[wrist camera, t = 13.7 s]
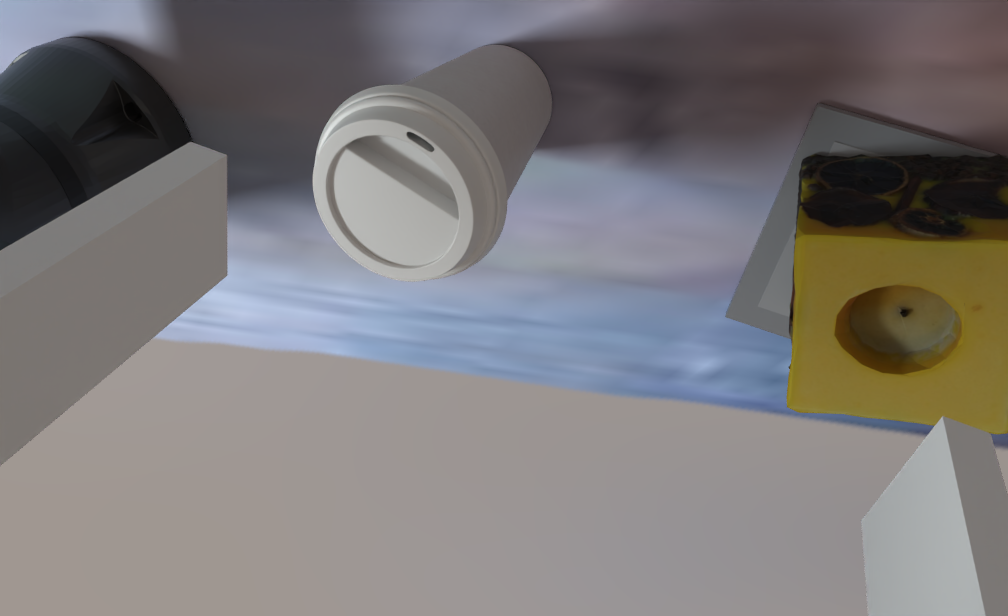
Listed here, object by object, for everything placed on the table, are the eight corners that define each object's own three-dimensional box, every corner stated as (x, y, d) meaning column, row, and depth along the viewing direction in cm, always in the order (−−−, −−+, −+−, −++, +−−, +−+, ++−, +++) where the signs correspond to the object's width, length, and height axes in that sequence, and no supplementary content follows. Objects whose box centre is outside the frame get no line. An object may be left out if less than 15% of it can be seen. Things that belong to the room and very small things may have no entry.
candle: (981, 323, 44) (1015, 441, 36) (789, 312, 47) (782, 417, 39) (1017, 149, 39) (1067, 242, 31) (798, 151, 42) (793, 235, 34)
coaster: (726, 311, 49) (725, 317, 49) (817, 102, 41) (817, 106, 41) (953, 388, 47) (955, 395, 47) (1099, 183, 39) (1102, 188, 38)
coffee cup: (610, 120, 45) (535, 238, 34) (493, 201, 51) (392, 326, 39) (508, -20, 43) (389, 53, 31) (396, 80, 48) (258, 174, 37)
